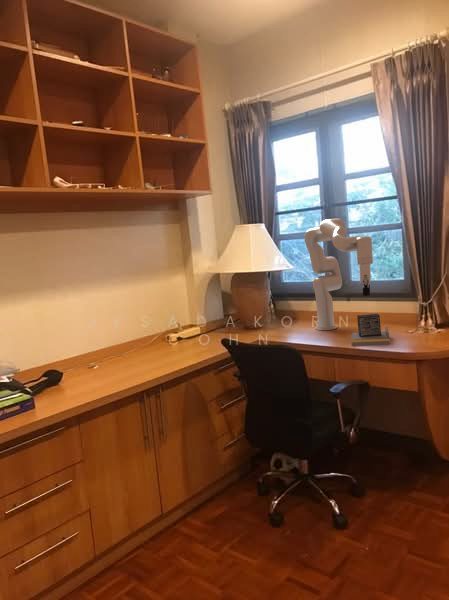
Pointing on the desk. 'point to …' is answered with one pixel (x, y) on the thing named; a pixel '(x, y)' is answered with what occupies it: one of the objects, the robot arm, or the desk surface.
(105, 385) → the desk surface
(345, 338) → the desk surface
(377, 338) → the dock
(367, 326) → the small box
